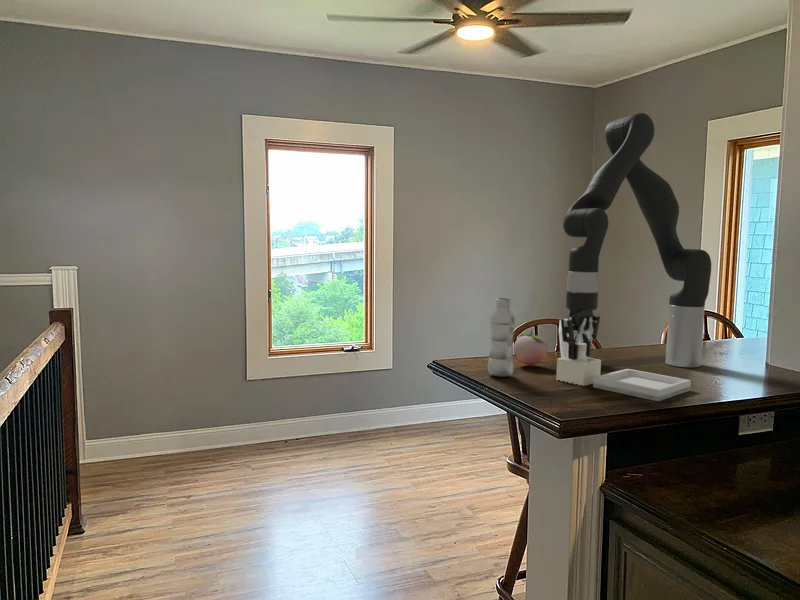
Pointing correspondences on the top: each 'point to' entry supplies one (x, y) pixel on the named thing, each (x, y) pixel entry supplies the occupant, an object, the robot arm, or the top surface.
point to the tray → (642, 384)
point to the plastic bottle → (501, 339)
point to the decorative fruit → (530, 349)
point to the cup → (564, 345)
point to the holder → (577, 370)
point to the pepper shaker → (581, 353)
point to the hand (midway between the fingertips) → (579, 357)
